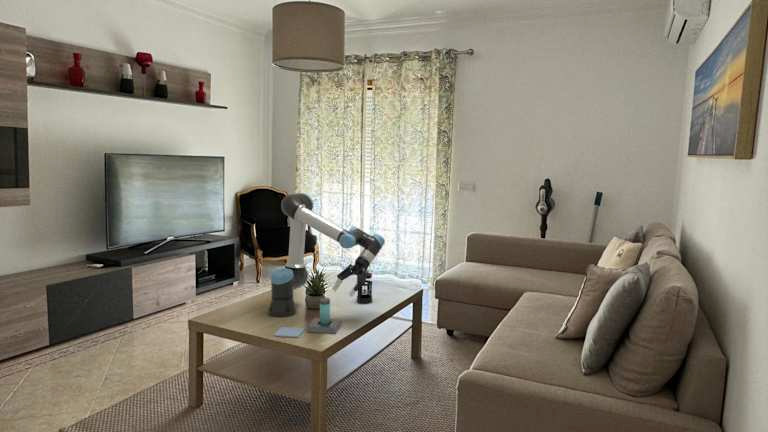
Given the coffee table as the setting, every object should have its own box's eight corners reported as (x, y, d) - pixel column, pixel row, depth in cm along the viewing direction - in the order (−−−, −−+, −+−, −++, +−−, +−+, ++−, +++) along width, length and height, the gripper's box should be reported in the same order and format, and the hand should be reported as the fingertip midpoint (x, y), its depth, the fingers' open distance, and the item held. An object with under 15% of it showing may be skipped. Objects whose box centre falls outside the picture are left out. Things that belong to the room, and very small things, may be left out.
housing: (307, 332, 261) (307, 326, 260) (314, 323, 274) (314, 317, 274) (335, 333, 259) (335, 327, 258) (341, 324, 272) (341, 319, 272)
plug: (318, 329, 264) (318, 300, 263) (321, 326, 269) (321, 297, 268) (328, 330, 264) (328, 300, 262) (330, 327, 269) (331, 298, 267)
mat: (273, 336, 254) (273, 334, 253) (281, 328, 265) (281, 326, 265) (298, 338, 252) (298, 336, 252) (305, 329, 264) (305, 328, 264)
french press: (362, 298, 323) (363, 261, 320) (375, 300, 318) (376, 263, 315) (352, 303, 312) (352, 264, 310) (365, 305, 308) (366, 266, 305)
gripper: (384, 268, 273) (361, 302, 264) (353, 260, 291) (331, 292, 283) (376, 259, 268) (353, 293, 260) (345, 252, 287) (323, 283, 278)
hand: (341, 292), depth 271 cm, fingers open, 13 cm apart
